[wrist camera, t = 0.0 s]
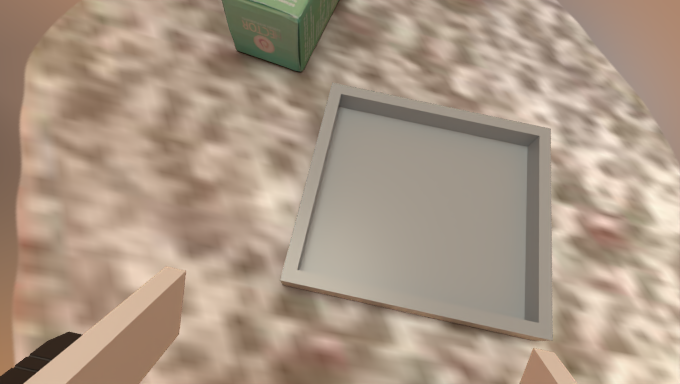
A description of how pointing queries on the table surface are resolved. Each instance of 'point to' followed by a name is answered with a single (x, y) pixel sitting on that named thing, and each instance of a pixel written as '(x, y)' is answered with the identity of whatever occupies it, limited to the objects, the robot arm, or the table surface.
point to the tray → (428, 213)
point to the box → (278, 28)
